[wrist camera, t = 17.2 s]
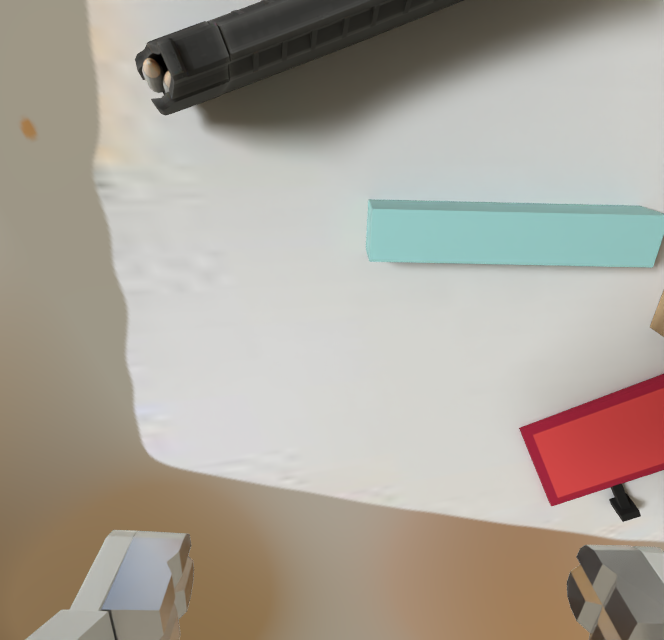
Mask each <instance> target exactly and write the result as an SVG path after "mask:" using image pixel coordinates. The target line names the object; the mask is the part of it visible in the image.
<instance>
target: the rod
mask: <svg viewBox="0 0 664 640" xmlns="http://www.w3.org/2000/svg"><path fill="white" fill-rule="evenodd" d="M663 236H664V214H663V213H660V212H657V211H654V210H651V209H648V208H645V207H642V206H626V205H583V204H540V203H497V202H454V201H411V200H369V201H368V219H367V236H366V251H367V254H368V258H369V261H371V262H418V263H466V264H513V265H561V266H608V267H653V266H654V263H655V260H656V257H657V254H658V251H659V248H660V245H661V242H662V239H663Z"/></svg>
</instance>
